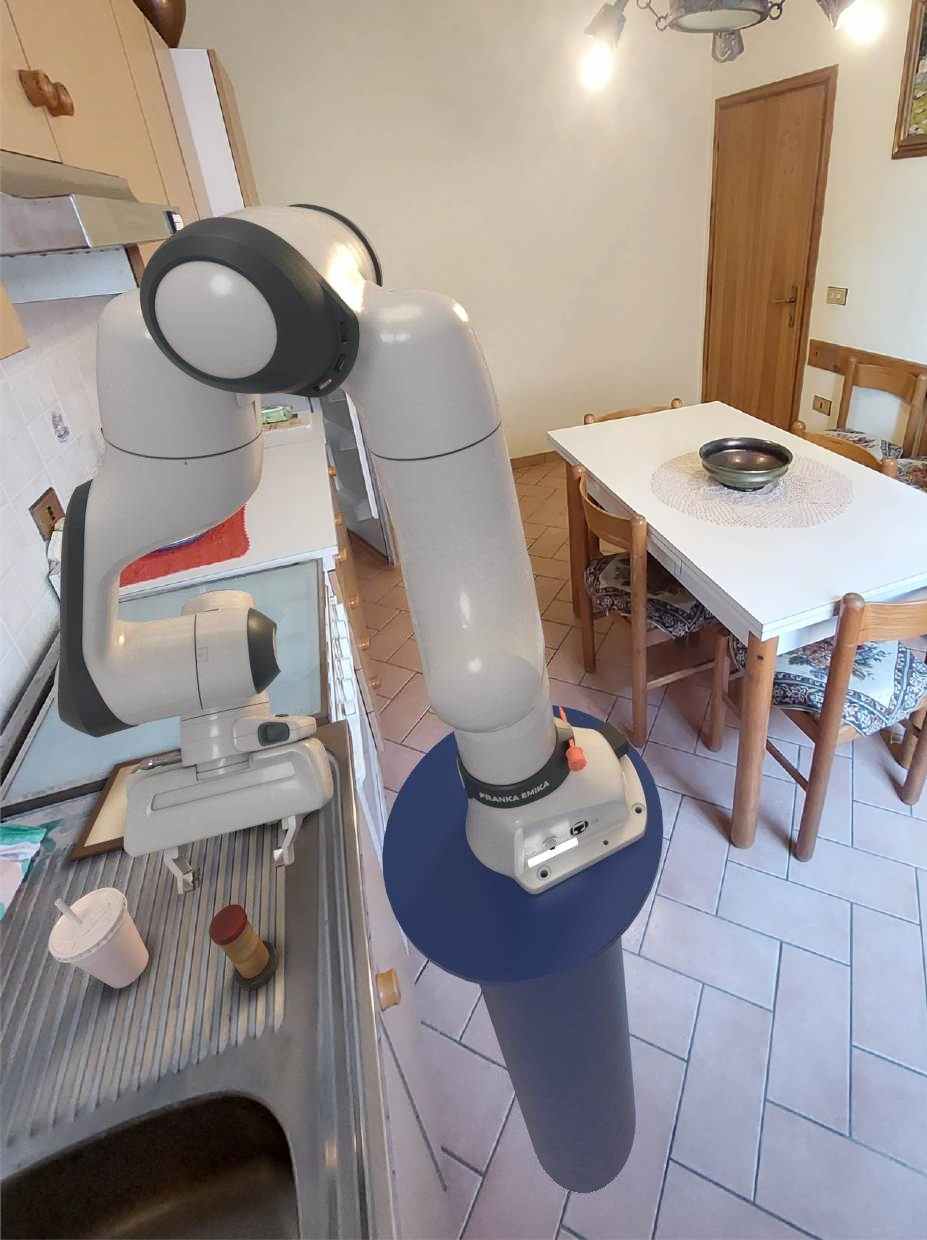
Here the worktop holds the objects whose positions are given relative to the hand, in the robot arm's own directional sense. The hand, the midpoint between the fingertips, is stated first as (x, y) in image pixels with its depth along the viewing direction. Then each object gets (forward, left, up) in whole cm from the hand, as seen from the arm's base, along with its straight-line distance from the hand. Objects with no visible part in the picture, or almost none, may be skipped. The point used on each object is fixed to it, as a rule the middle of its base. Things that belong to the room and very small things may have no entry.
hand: (237, 877), depth 63 cm
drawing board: (+18, -21, -9) cm, 29 cm away
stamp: (0, +5, -9) cm, 10 cm away
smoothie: (+14, +1, -9) cm, 17 cm away
